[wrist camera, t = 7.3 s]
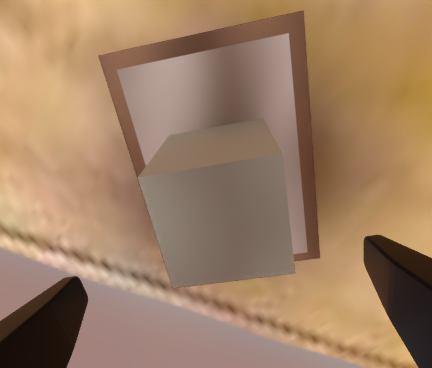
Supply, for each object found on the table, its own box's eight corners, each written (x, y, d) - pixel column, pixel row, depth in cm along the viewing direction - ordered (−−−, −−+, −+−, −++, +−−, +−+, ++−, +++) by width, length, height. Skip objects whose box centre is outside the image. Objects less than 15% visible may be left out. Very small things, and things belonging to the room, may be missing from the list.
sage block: (262, 118, 15) (282, 153, 10) (273, 203, 17) (295, 273, 12) (169, 135, 16) (137, 177, 10) (189, 216, 18) (172, 288, 12)
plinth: (290, 18, 16) (305, 9, 13) (308, 232, 22) (321, 261, 19) (118, 55, 17) (95, 55, 14) (176, 250, 23) (168, 280, 20)
